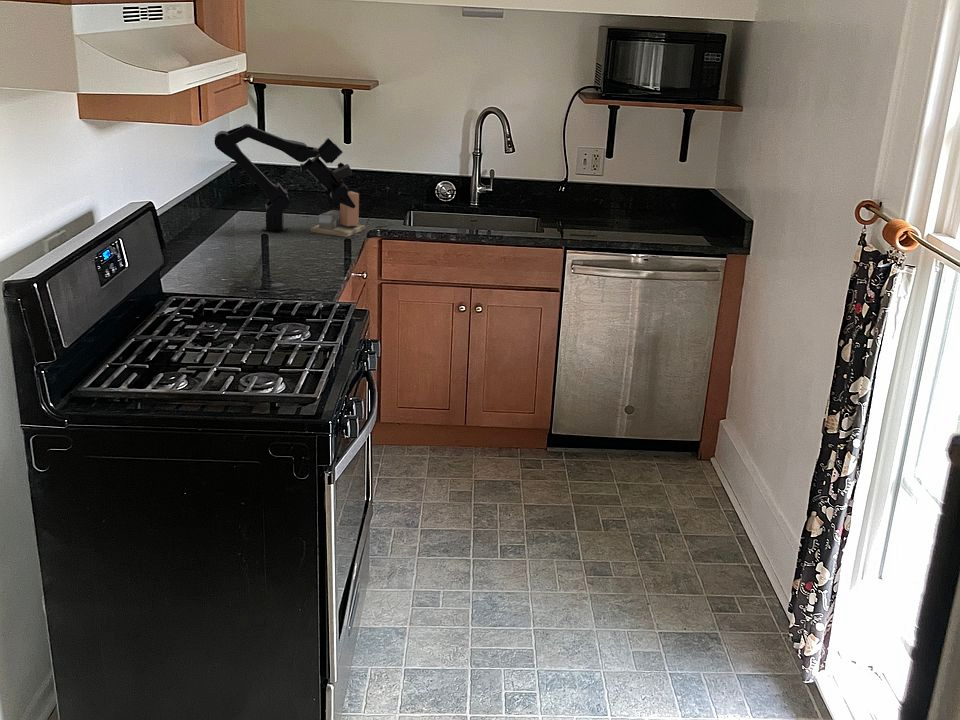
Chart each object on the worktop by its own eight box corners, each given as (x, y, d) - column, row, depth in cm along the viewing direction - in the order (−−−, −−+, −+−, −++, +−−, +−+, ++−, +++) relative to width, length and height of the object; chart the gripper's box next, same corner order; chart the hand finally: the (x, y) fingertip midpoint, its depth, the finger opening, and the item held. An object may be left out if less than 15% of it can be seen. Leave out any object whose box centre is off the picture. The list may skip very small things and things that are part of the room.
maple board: (346, 236, 316) (347, 220, 314) (310, 231, 320) (310, 215, 318) (365, 229, 328) (365, 213, 326) (329, 223, 332) (330, 208, 330)
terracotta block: (347, 226, 322) (347, 194, 318) (339, 223, 325) (340, 192, 321) (358, 224, 324) (359, 193, 321) (350, 222, 328) (351, 191, 324)
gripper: (342, 161, 307) (374, 194, 314) (335, 152, 323) (366, 184, 330) (317, 184, 308) (350, 217, 314) (312, 174, 324) (343, 205, 331)
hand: (353, 205), depth 323 cm, fingers closed on terracotta block, 6 cm apart
